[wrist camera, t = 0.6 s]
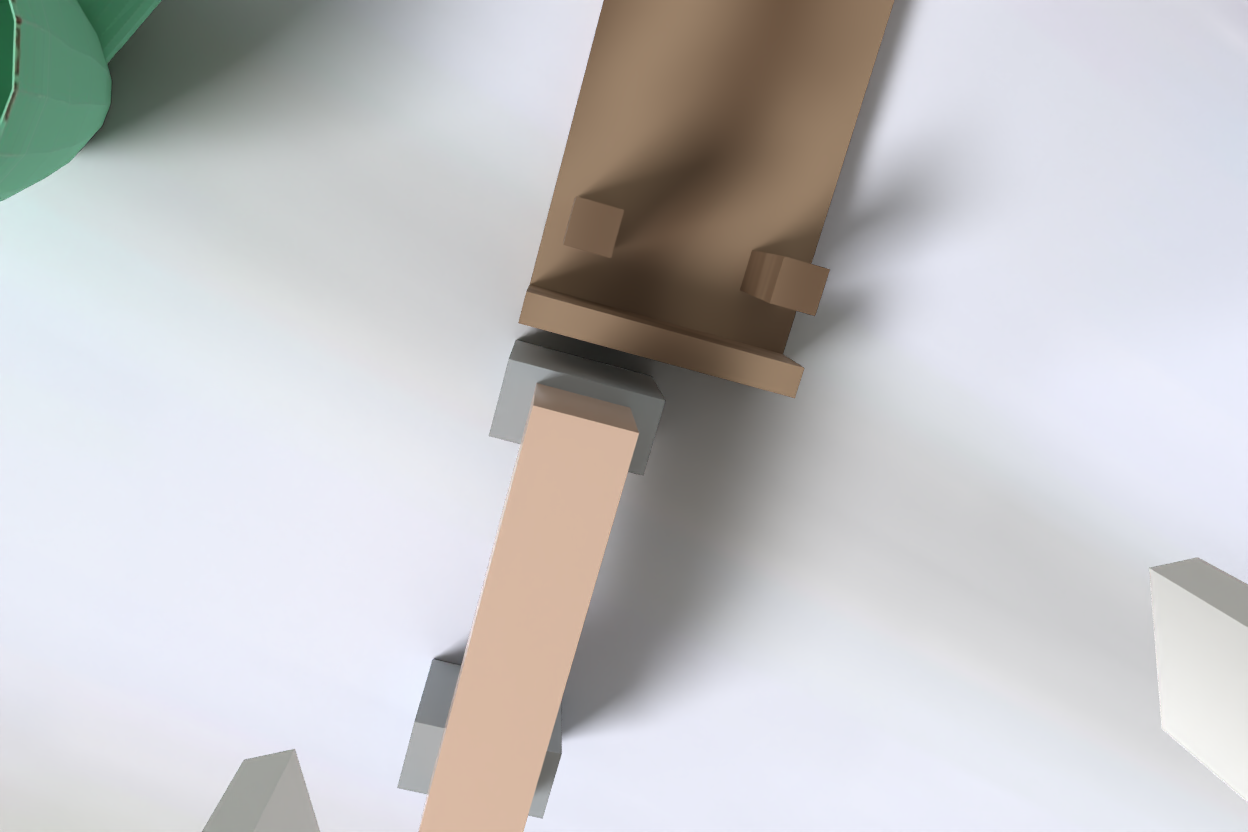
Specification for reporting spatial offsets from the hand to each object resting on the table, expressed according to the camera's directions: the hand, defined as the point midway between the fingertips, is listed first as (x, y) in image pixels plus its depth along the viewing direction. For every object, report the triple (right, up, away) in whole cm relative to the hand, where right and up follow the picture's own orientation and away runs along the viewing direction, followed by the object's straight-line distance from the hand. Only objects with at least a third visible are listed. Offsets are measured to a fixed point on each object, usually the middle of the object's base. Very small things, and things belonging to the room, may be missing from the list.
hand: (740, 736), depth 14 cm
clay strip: (-5, -1, +16) cm, 17 cm away
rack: (+2, +16, +18) cm, 24 cm away
